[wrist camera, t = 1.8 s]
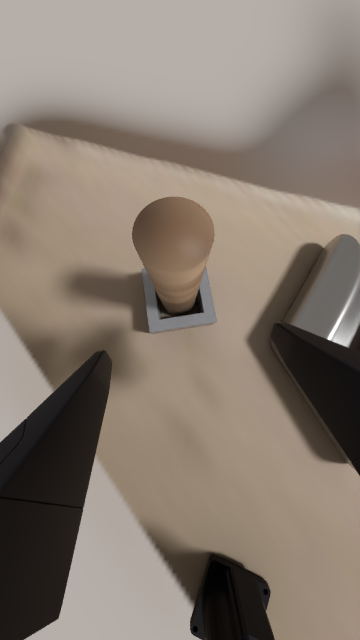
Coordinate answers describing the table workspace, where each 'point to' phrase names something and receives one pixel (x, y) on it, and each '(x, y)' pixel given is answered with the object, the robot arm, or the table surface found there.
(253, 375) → the table surface
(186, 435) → the table surface
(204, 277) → the socket block
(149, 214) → the walnut dowel
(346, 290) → the emblem
